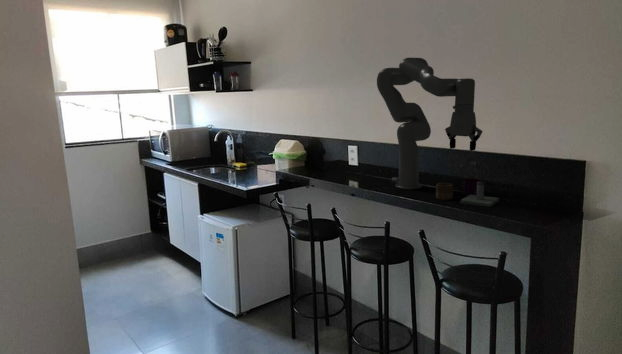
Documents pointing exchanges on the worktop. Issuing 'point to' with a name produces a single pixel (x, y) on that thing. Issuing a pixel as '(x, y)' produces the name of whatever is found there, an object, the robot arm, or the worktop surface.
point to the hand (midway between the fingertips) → (462, 149)
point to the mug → (469, 186)
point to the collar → (444, 191)
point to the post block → (480, 197)
